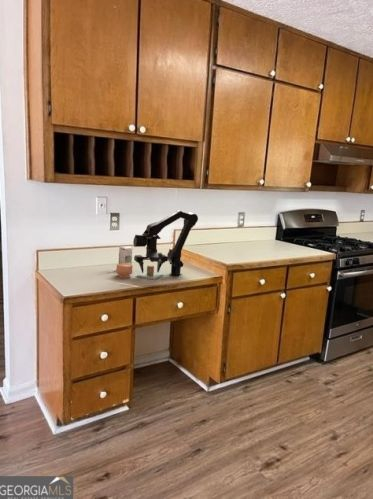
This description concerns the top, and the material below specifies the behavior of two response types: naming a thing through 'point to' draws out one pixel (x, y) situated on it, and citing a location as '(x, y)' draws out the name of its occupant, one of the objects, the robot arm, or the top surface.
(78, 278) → the top surface
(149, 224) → the robot arm
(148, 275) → the lid
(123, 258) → the syrup box
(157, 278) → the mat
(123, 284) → the top surface
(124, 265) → the bowl
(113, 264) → the top surface
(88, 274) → the top surface
